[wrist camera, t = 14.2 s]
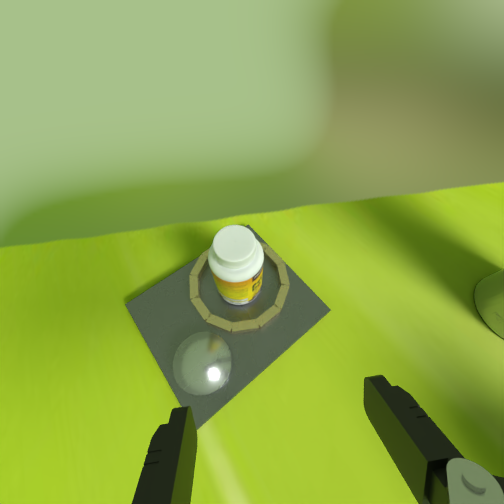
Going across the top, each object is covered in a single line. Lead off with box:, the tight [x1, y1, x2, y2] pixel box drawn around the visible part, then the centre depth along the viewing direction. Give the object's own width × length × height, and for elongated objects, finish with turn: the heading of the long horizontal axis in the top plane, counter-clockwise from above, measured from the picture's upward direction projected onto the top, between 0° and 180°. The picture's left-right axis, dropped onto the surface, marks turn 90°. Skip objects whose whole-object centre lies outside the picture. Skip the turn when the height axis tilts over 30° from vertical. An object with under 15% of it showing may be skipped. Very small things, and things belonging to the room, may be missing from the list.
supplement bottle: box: [208, 225, 264, 305], centre depth 27 cm, size 6×6×10 cm
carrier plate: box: [125, 225, 330, 430], centre depth 30 cm, size 19×16×2 cm
